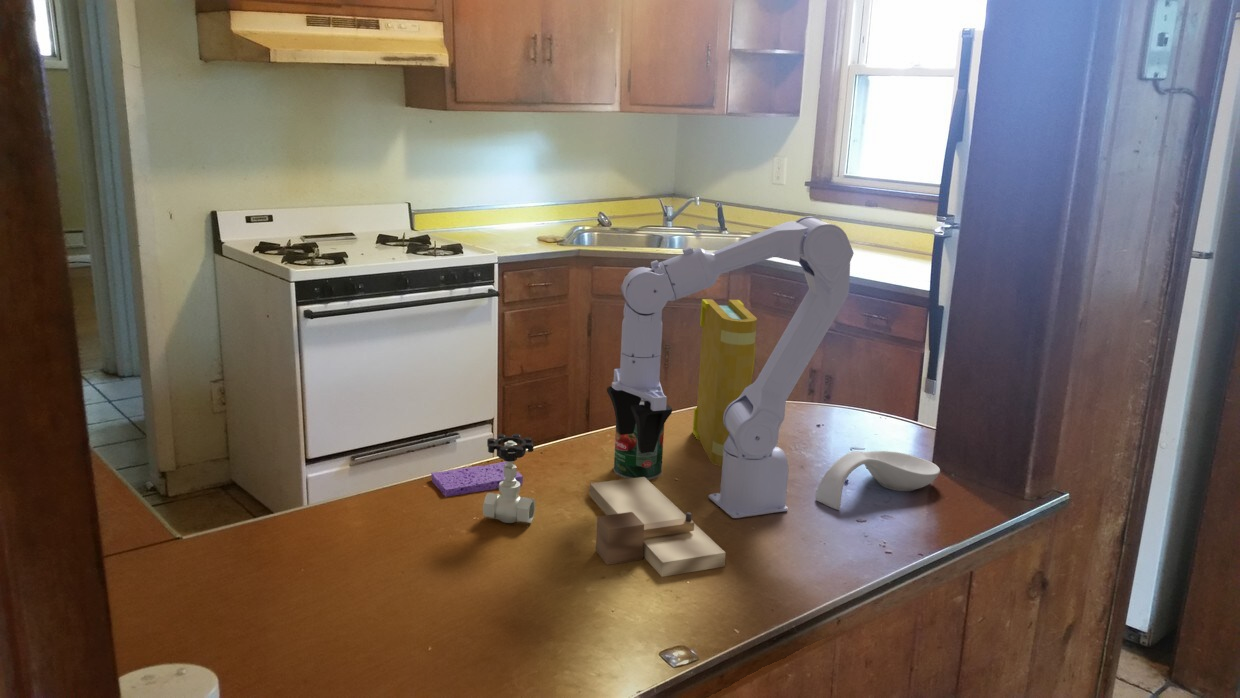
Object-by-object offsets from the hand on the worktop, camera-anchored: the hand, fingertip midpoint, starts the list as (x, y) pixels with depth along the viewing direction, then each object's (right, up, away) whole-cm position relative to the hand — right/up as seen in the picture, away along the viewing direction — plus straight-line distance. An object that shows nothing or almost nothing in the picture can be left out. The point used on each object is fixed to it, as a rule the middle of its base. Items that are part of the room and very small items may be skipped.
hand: (636, 442), depth 134 cm
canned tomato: (0, -6, +16) cm, 17 cm away
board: (+2, -12, -5) cm, 13 cm away
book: (+15, -4, +27) cm, 31 cm away
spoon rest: (+38, -9, +12) cm, 41 cm away
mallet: (+1, -13, -11) cm, 18 cm away
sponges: (-25, -8, +8) cm, 27 cm away
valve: (-18, -11, -5) cm, 22 cm away
